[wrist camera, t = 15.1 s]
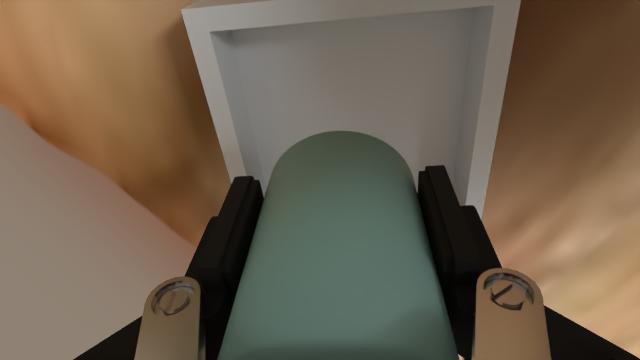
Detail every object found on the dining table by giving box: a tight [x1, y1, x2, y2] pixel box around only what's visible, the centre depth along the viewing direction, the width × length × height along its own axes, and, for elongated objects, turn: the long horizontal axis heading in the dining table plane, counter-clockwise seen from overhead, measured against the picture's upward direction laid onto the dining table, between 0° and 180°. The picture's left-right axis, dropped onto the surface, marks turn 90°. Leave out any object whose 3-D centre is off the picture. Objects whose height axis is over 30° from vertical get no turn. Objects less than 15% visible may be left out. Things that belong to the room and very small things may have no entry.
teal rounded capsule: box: [217, 131, 459, 360], centre depth 10 cm, size 5×5×7 cm
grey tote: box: [181, 0, 521, 219], centre depth 22 cm, size 18×14×4 cm
